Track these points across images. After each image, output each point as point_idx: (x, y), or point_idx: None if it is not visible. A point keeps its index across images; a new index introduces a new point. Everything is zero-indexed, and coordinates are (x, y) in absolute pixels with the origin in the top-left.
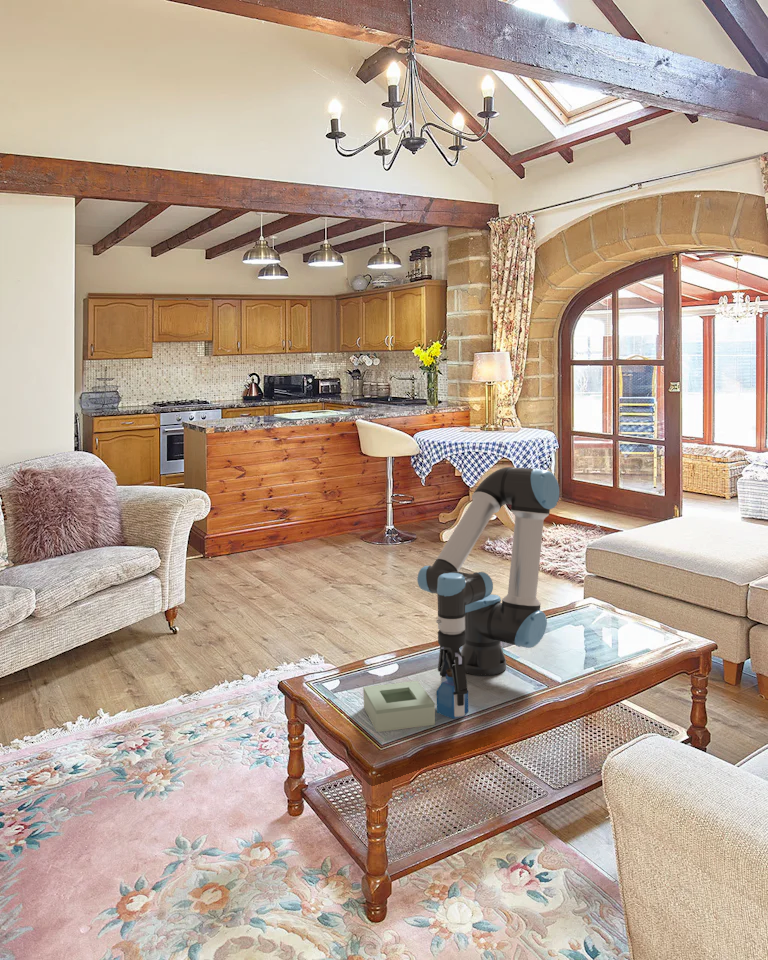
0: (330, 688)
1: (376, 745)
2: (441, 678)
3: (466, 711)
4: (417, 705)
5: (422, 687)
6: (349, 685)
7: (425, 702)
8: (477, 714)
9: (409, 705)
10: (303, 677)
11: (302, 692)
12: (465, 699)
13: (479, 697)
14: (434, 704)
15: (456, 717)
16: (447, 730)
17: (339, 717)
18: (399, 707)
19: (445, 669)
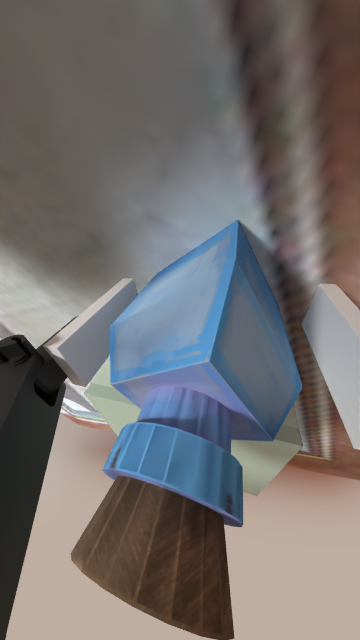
0: (86, 409)
1: (306, 455)
2: (87, 383)
3: (244, 235)
4: (281, 468)
5: (137, 406)
6: (70, 394)
7: (273, 453)
8: (294, 169)
9: (269, 473)
10: (61, 412)
11: (102, 427)
12: (250, 265)
13: (59, 67)
14: (301, 440)
15: (272, 294)
16: None
17: None
18: (267, 483)
19: (36, 444)
